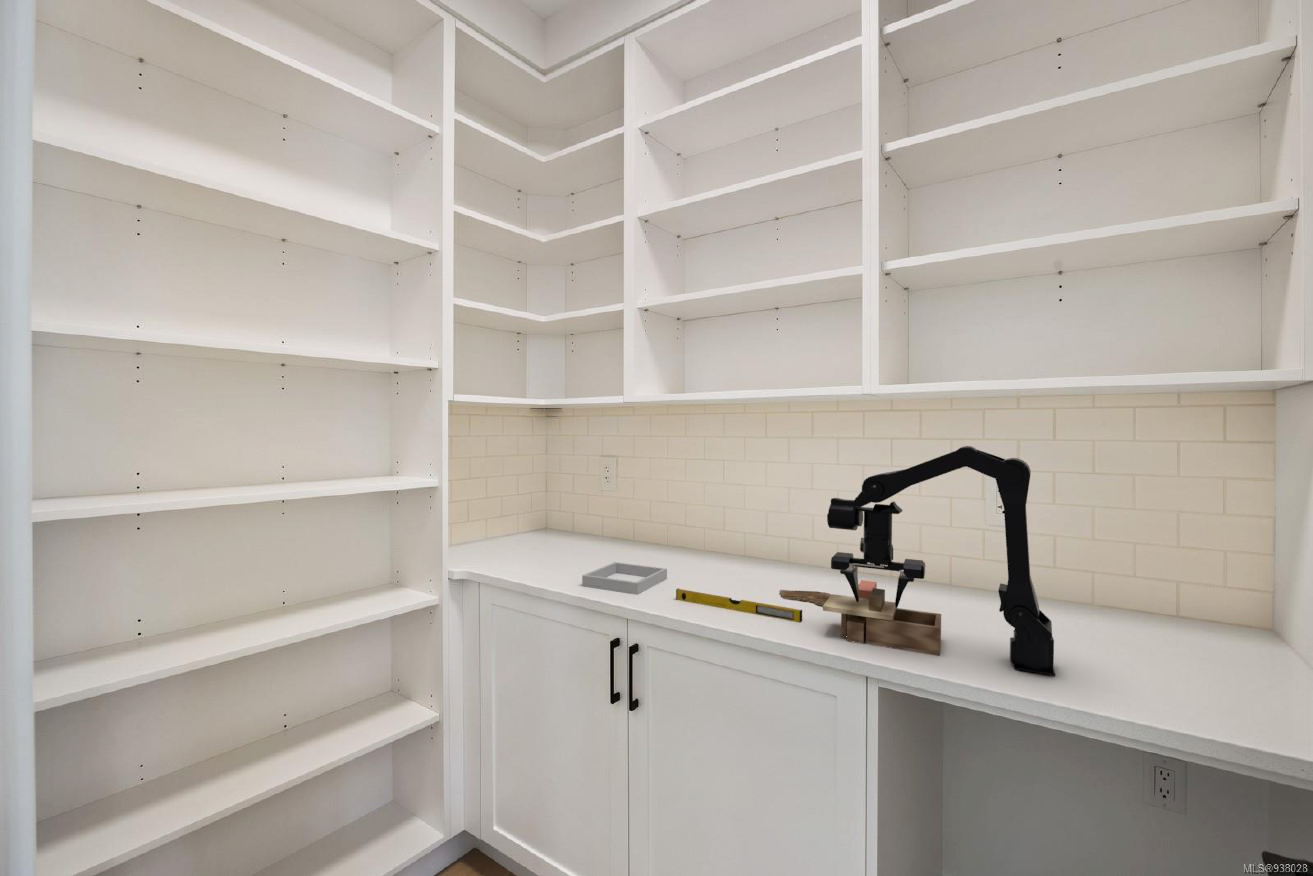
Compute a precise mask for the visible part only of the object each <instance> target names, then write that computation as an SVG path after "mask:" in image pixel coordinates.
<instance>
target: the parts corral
mask: <svg viewBox="0 0 1313 876" xmlns="http://www.w3.org/2000/svg"><path fill="white" fill-rule="evenodd" d="M614 574H623V575H631V576H638V577H642V579H639V580H638V581H632V580H624V579H618V578H611V577H610V576H612V575H614ZM643 577H644V578H643ZM581 580H582V581H581V582H582V583H581V585H582V587H588V588H594V589H598V590H600V589H601V590H607V591H613V592H619V593H620V592H621V593H626V594H633V595H639V594H641V593H643V592H645V591H647V590H648V589H650V588H652V587H654V586H656V585H658V584H660V583H662V582H664V581H665V580H668V568H664V567H656V566H648V565H640V564H634V563H626V562H625V563H624V562H616V561H615V562H612V563H610V564H608V565H604V566H602V567H600V568H597V569H595V570H592V571H590V572H587V573H585V574H582V575H581Z"/></svg>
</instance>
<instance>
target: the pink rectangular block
mask: <svg viewBox="0 0 1313 876" xmlns="http://www.w3.org/2000/svg"><path fill="white" fill-rule="evenodd" d="M877 585H878V583H877V581H871V580H860V582H858V586H859V598H865V599H869V595H870V593H871V591H872V589H873V588H876V589H878V588H877V587H878V586H877Z"/></svg>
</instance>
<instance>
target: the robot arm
mask: <svg viewBox="0 0 1313 876" xmlns="http://www.w3.org/2000/svg"><path fill="white" fill-rule="evenodd" d="M962 468H969V469H972V470H974V471H976V472H978V473H980V474H982V475H985V476H988V477H990V478H992V479H995V483H996V485H997V489H998V493H999V497H1000V499H1001V503H1002V507H1003V513H1004V514H1003V515H1004V516H1003V517H1004V526H1005V527H1004V528H1005V530H1004V531H1005V544H1006V545H1005V546H1006V561H1007V577H1008V578H1007V583H1006V584H1005V583H999V586H998V596H999V599H1000V606H999V609H998V611H999V612H1000V613H1002V614H1003V618H1004V620H1005V621H1006V622H1005V623H1007V624H1008V625H1009V626H1011V627H1012V628H1013V637H1012V636H1011V637H1009V659H1010V660H1009V661H1010V663H1012V666H1013V668H1014V670H1017V671H1022V672H1029V673H1034V674H1041V675H1045V676H1046V675H1047V676H1053V677H1055V676H1056V671H1055V668H1054V661H1055V660H1054V659H1055V657H1054V655H1055V654H1054V653H1055V652H1054V651H1055V649H1054V648H1055V639H1054V637H1053V628H1052V627H1053V626H1052V625H1053V624H1052V620H1051V619H1050V618H1049V617H1048V616H1047V615H1046V614H1045V613H1044V612H1043V611H1042V610H1040V605H1039V602H1038V597H1037V594H1036V593H1037V592H1036V590H1035V586H1034V584H1033V580H1032V576H1031V566H1030V565H1031V564H1030V550H1029V536H1028V535H1029V533H1028V521H1027V520H1028V519H1027V517H1028V516H1027V501H1028V495H1029V488H1030V487H1029V486H1030V480H1031V475H1032V473H1031V468H1030V466H1029V464H1028V463H1027V462H1026V461H1024V460H1023V459H1021V458H1016V457H1010V458H1003V457H1000V456H999V455H998V456H997V455H995V454H992V453H988V452H985V451H982V450H979V449H977V448H976V447H974V446H971V445H965V446H961V447H959V448H958V449H956V450H953V451H951V452H949V453H945V454H944V455H940V456H938V457H935V458H932V459H930V460H927V461H924V462H921V463H918V464H915V465H914V466H911V467H908V468H906V469H905V468H904V469H900V470H895V471H894V470H893V471H889V472H884V473H878V474H874V475H872V476H868V477H866V478H865V479H864V481H863V482H862V484H861V492H860V493H859V494H858V495H857V496H856V497H855V499H844V498H843V499H842V498H839V497H832V498H831V499H830V505H829V507H828V512H827V514H826V521H827V526H828V527H829V528H830V529H837V530H847V531H857V530H858V527H862V526H863V537H861V538H860V545H859V551H860V552H861V553H863V558H858V557H854V553H852V552H851V553H849V552H839V551H837V552H836V553H835V554H834V555H833V556H831V558H830V559H831V560H830V569H832V570H835V571H836V570H838V571H839V574H841V575H844V576H845V578H846V580H847V582H848V584H849V586H850V589H851V591H852V594H853V597H855V599H856V602H859V586H858V585H859V579H858V578H859V577H858V575H859V574H858V571H859V569H858V568H863V569H865V568H866V569H871V570H872V569H874V570H875V569H876V570H882V571H891V572H899V576H898V578H897V579H898V580H897V587H896V592H895V593H896V594H895V601H894V602H895V607H897V608H899V607H898V606H899V605H900V601H901V598H902V596H903V592H904V590H905V589H906V587H907V585H908V583H914V581H915V579H918V580H919V579H920V580H923V579H925V575H926V563H925V561H924V560H922V559H911V558H905V559H904V562H899V561H898V562H897V561H894V546H893V515H899V514H901V513H902V512H903V509H902V508H901V507H900V506H899V505H898V504H897V503H896V501H895V500H894V501H892V502H890V503H889V504H885V503H884V504H881V503H882V502H884V501H886V500H888V499H890V498H893V496H895V495H897V494H899V493H901V492H902V491H904V490H906V489H907V488H909V487H911V486H913V485H917V484H919V483H922V482H925V481H928V480H931V479H934V478H936V477H939V476H942V475H945V474H948V473H950V472H953V471H956V470H959V469H962ZM871 503H875V504H874V505H873V507H867V506H866V505H868V504H871ZM864 506H865V507H864Z"/></svg>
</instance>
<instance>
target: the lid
mask: <svg viewBox="0 0 1313 876" xmlns="http://www.w3.org/2000/svg"><path fill="white" fill-rule="evenodd" d="M830 594H831V596H830V597H829V598H828V600H827V601H826V602H825V604H824V605H823V606H822V611H824V612H831V613H835V614H836V613H837V614H841V613H843V614H850V615H857V616H864V617H871V618H878V619H885V620H891V621H893V618H894V615H895V612H896V610H897V608H898V607H895V601H886V590H885V589H883V588H877V589H876V588H873V589H872V591H871V593H870V595H869V599H865V598H859V602H856V599H855V597H854V596H847V595H843V594H842V595H841V594H840V595H839V594H835V593H834V594H833V593H830Z"/></svg>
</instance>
